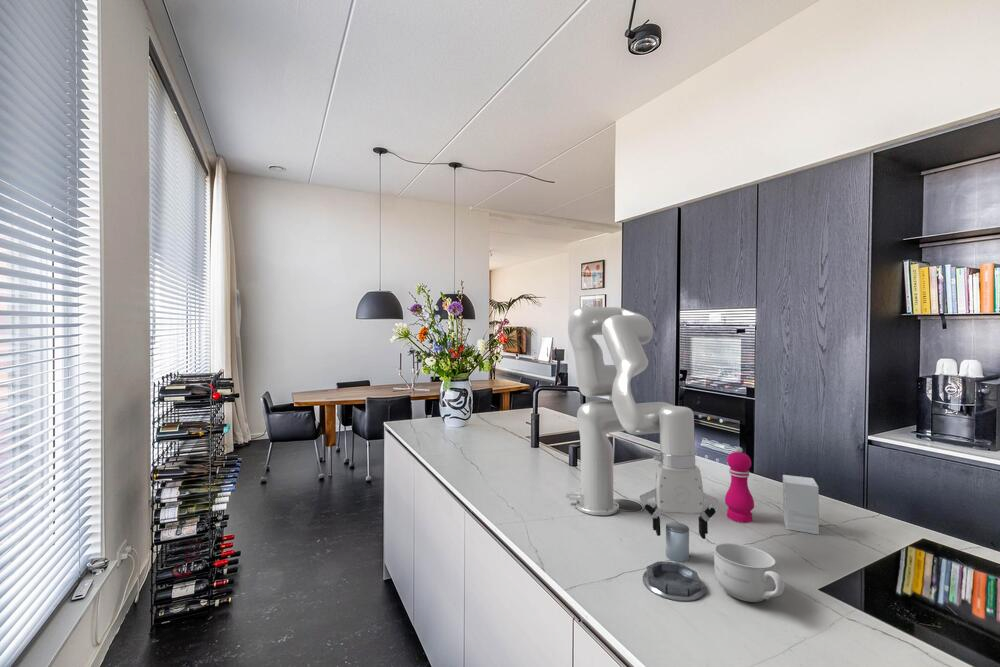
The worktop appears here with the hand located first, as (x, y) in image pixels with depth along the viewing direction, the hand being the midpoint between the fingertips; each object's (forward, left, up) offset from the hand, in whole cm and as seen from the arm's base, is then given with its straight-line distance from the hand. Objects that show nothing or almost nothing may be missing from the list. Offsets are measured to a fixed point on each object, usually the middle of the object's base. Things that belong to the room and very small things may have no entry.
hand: (679, 534), depth 102 cm
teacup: (+10, -13, -6) cm, 18 cm away
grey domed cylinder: (0, +1, -5) cm, 5 cm away
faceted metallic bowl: (-3, -11, -5) cm, 13 cm away
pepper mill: (+21, +27, -6) cm, 34 cm away
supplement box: (+35, +24, -6) cm, 42 cm away
